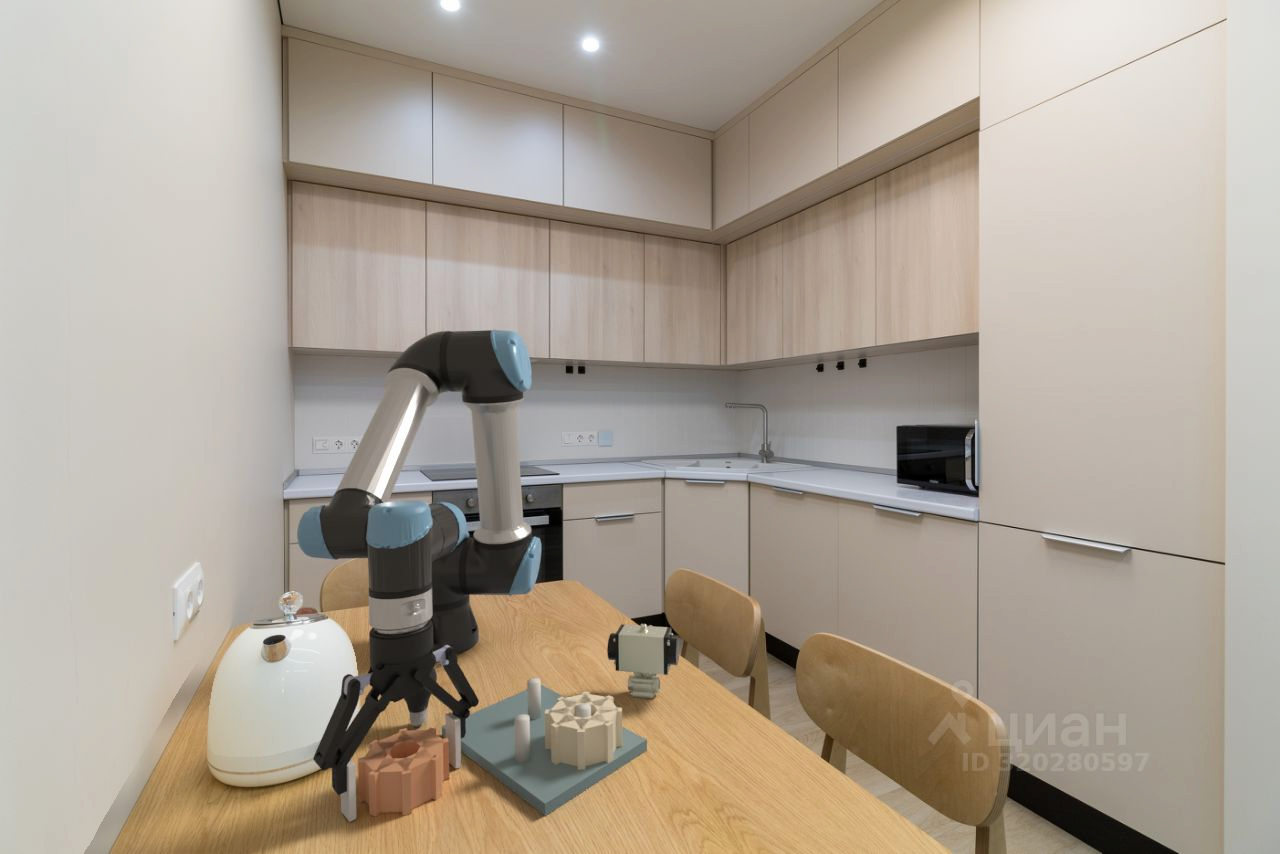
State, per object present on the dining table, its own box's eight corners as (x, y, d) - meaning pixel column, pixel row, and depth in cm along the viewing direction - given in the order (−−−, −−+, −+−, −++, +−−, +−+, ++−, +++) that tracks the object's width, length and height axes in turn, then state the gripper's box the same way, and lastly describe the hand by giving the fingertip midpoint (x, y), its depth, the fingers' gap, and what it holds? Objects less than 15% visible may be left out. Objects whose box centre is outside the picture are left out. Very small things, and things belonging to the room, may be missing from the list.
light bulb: (445, 719, 90) (444, 656, 90) (420, 738, 85) (419, 672, 85) (416, 713, 92) (414, 652, 92) (390, 732, 87) (389, 667, 86)
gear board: (442, 736, 85) (441, 690, 85) (539, 692, 98) (539, 652, 98) (545, 816, 68) (544, 758, 68) (647, 749, 81) (646, 701, 81)
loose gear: (348, 789, 73) (347, 751, 73) (424, 754, 81) (423, 719, 81) (381, 829, 66) (380, 786, 66) (462, 786, 74) (461, 748, 74)
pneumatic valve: (676, 704, 94) (675, 631, 94) (607, 697, 96) (606, 627, 96) (680, 688, 100) (680, 619, 99) (615, 682, 102) (614, 615, 102)
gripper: (302, 663, 61) (306, 858, 62) (502, 605, 80) (504, 756, 80) (281, 644, 66) (285, 824, 67) (473, 594, 85) (475, 736, 85)
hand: (404, 787), depth 73 cm, fingers open, 13 cm apart
